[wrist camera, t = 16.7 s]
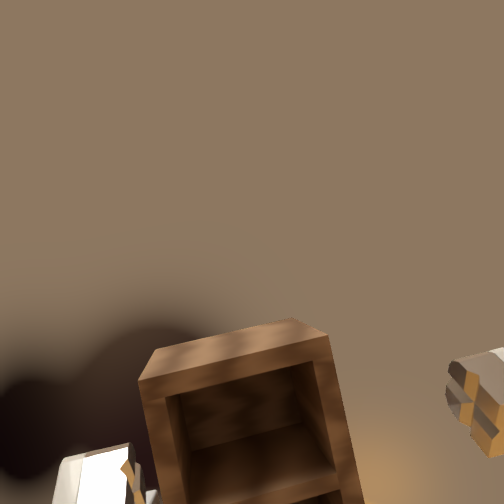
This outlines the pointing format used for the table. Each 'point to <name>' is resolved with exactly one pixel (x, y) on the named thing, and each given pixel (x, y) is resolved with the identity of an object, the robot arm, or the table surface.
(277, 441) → the wooden pedestal block
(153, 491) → the skincare box
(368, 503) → the table surface
